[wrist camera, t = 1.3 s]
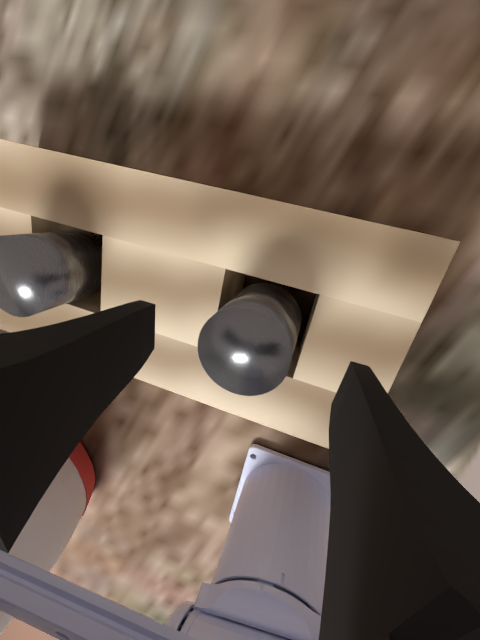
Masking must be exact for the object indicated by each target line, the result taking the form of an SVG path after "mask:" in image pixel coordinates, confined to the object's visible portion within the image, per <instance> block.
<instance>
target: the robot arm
mask: <svg viewBox="0 0 480 640" xmlns="http://www.w3.org/2000/svg"><path fill="white" fill-rule="evenodd" d="M155 306H156V304H153V303H149V302H146V301H142V300H138V301H134V302H130V303H126V304H123V305H119V306H116V307H113V308H110V309H106V310H103V311H100V312H96V313H93V314H90V315H86V316H83V317H79V318H75V319H71V320H68V321H64V322H60V323H56V324H52V325H48V326H43V327H39V328H33V329H28V330H23V331H17V332H11V333H3V334H0V611H2V612H4V613H6V614H8V615H10V616H12V617H15V618H17V619H19V620H21V621H23V622H25V623H27V624H29V625H31V626H33V627H35V628H37V629H39V630H41V631H43V632H45V633H47V634H49V635H51V636H53V637H55V638H58V639H60V640H480V503H479V502H478V501H477V500H476V499H475V498H474V497H473V496H472V495H471V494H470V493H469V492H468V491H467V490H466V489H465V488H464V487H463V486H462V485H461V484H460V483H459V482H458V481H457V480H456V479H455V478H454V477H453V476H452V474H451V473H450V472H449V471H448V470H447V469H446V468H445V467H444V466H443V464H442V463H441V462H440V461H439V460H438V459H437V458H436V457H435V456H434V454H433V453H432V452H431V451H430V450H429V449H428V447H427V446H426V445H425V444H424V443H423V441H422V440H421V439H420V437H419V436H418V435H417V434H416V432H415V431H414V430H413V428H412V427H411V426H410V425H409V423H408V422H407V421H406V419H405V418H404V417H403V415H402V414H401V412H400V411H399V410H398V408H397V407H396V405H395V404H394V402H393V401H392V399H391V398H390V396H389V395H388V393H387V392H386V390H385V389H384V387H383V386H382V384H381V383H380V381H379V380H378V378H377V377H376V375H375V374H374V372H373V371H372V369H371V368H370V367H369V366H367V365H363V364H360V363H356V362H353V361H351V362H350V364H349V366H348V368H347V370H346V373H345V375H344V377H343V379H342V381H341V384H340V386H339V388H338V390H337V393H336V395H335V397H334V399H333V401H332V404H331V412H330V421H329V463H330V472H328V471H326V470H323V469H320V468H318V467H315V466H313V465H310V464H307V463H305V462H302V461H299V460H297V459H294V458H291V457H289V456H286V455H284V454H281V453H278V452H276V451H273V450H270V449H268V448H265V447H262V446H260V445H257V444H252V445H250V447H249V450H248V454H247V457H246V461H245V464H244V468H243V471H242V475H241V478H240V482H239V485H238V489H237V492H236V496H235V499H234V503H233V506H232V510H231V513H230V517H229V521H230V522H231V525H230V528H229V531H228V534H227V537H226V540H225V544H224V547H223V550H222V553H221V556H220V559H219V562H218V565H217V568H216V571H215V575H214V578H213V581H212V584H208V583H202V585H201V588H200V591H199V594H198V597H197V599H196V602H195V603H193V602H189V601H186V602H184V603H182V604H181V605H180V606H179V607H178V608H177V610H176V611H175V612H174V613H173V614H172V615H170V617H169V618H168V619H167V620H166V622H165V623H164V624H162V623H160V622H158V621H156V620H154V619H151V618H149V617H147V616H145V615H143V614H140V613H138V612H136V611H134V610H132V609H129V608H127V607H125V606H123V605H121V604H118V603H116V602H114V601H112V600H110V599H107V598H105V597H103V596H101V595H99V594H96V593H94V592H92V591H90V590H87V589H85V588H83V587H81V586H79V585H76V584H74V583H72V582H70V581H68V580H65V579H63V578H61V577H59V576H57V575H54V574H52V573H50V572H48V571H46V570H43V569H41V568H39V567H37V566H35V565H32V564H30V563H28V562H26V561H24V560H21V559H19V558H17V557H15V556H13V555H10V554H8V553H9V552H10V550H11V548H12V546H13V545H14V543H15V541H16V539H17V538H18V536H19V534H20V533H21V531H22V529H23V528H24V526H25V524H26V523H27V521H28V520H29V518H30V516H31V515H32V513H33V511H34V510H35V508H36V506H37V505H38V503H39V502H40V500H41V498H42V497H43V495H44V494H45V492H46V491H47V489H48V488H49V486H50V485H51V483H52V481H53V480H54V478H55V477H56V475H57V474H58V472H59V471H60V469H61V468H62V466H63V465H64V463H65V462H66V461H67V459H68V458H69V456H70V455H71V453H72V452H73V450H74V449H75V447H76V446H77V445H78V443H79V442H80V441H81V439H82V438H83V436H84V435H85V434H86V432H87V431H88V430H89V428H90V427H91V426H92V424H93V423H94V422H95V420H96V419H97V418H98V417H99V416H100V414H101V413H102V412H103V411H104V410H105V409H106V408H107V406H108V405H109V404H110V403H111V402H112V401H113V400H114V399H115V398H116V396H117V395H118V394H119V393H120V392H121V391H122V390H123V389H124V388H125V387H126V385H127V384H128V383H129V382H130V381H131V380H132V379H133V377H134V376H135V375H136V374H137V373H138V372H139V371H140V369H141V368H142V367H143V365H144V364H145V362H146V361H147V359H148V358H149V356H150V355H151V353H152V352H153V350H154V348H155ZM252 454H254V455H256V456H254V455H252Z"/></svg>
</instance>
